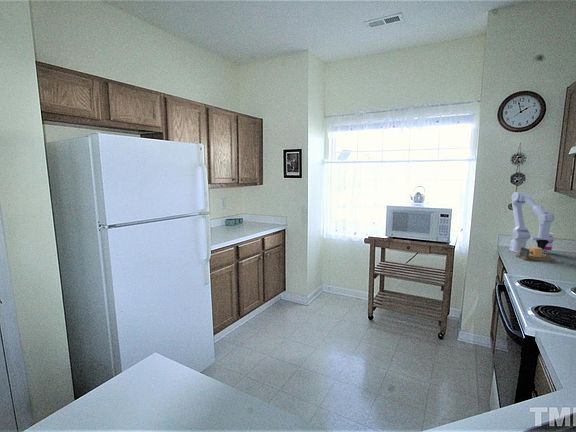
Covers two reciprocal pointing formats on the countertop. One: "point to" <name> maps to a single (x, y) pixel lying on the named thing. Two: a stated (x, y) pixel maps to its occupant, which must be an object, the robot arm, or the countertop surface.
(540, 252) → the sleeve
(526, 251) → the rail stand
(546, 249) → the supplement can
